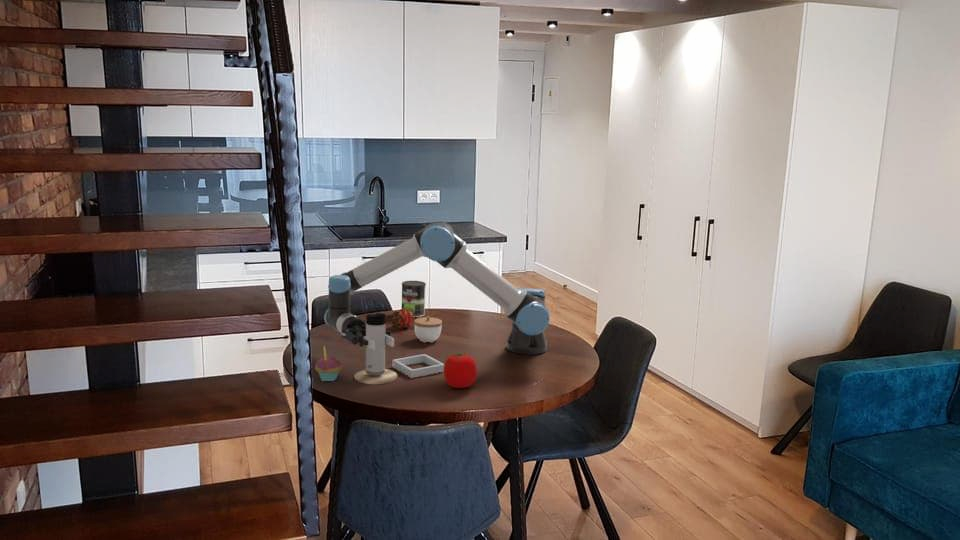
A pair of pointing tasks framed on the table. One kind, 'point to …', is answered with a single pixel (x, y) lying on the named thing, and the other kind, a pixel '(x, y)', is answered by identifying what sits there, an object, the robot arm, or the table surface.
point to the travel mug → (377, 334)
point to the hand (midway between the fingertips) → (383, 344)
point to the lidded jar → (427, 328)
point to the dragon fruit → (402, 318)
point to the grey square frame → (433, 368)
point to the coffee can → (414, 297)
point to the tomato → (460, 370)
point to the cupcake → (328, 367)
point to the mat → (375, 377)
